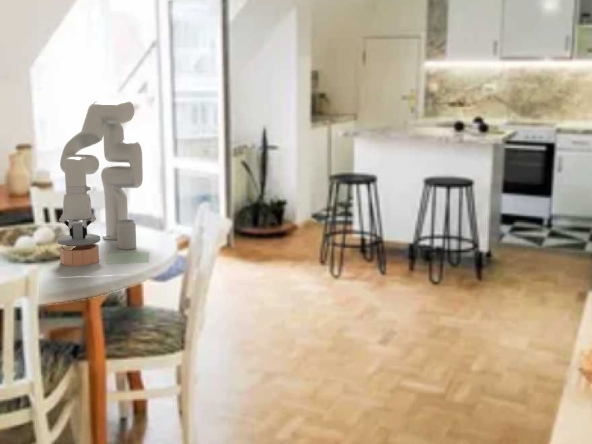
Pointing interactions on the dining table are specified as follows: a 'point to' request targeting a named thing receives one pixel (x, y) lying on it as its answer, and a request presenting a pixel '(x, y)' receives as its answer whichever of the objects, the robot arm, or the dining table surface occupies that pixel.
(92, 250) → the bowl
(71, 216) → the robot arm
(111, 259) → the mat
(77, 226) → the lid
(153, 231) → the dining table surface
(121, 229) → the can
